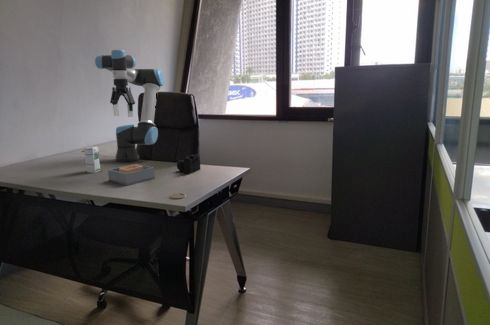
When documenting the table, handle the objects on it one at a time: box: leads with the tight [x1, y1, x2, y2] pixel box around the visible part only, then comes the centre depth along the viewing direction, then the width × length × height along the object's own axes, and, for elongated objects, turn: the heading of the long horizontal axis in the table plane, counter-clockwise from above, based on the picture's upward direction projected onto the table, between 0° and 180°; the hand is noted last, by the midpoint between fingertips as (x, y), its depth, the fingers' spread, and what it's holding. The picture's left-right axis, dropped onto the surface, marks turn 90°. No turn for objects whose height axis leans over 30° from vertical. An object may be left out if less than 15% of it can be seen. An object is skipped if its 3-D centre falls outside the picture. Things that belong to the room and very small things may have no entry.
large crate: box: [107, 163, 156, 186], centre depth 192 cm, size 18×16×6 cm
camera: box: [176, 154, 201, 175], centre depth 210 cm, size 14×11×10 cm
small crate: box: [118, 164, 143, 173], centre depth 192 cm, size 10×7×6 cm
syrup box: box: [83, 145, 102, 174], centre depth 210 cm, size 6×6×14 cm
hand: (123, 116), depth 208 cm, fingers open, 13 cm apart
